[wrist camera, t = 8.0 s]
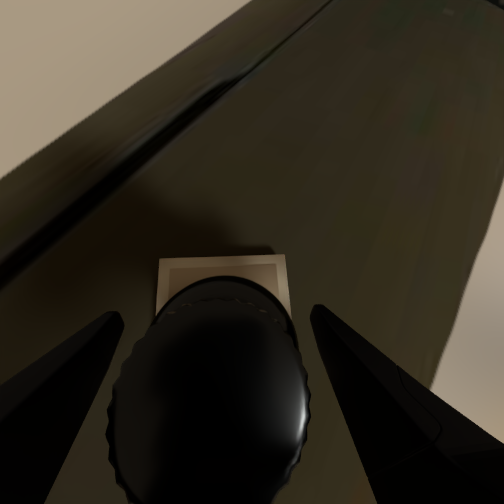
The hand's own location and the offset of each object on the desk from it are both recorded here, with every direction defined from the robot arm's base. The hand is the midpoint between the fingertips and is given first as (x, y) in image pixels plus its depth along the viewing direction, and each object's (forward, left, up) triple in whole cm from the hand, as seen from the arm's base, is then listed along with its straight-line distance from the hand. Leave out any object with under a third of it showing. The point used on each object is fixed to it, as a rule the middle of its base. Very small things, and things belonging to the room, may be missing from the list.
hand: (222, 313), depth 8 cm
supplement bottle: (-2, 0, -8) cm, 8 cm away
